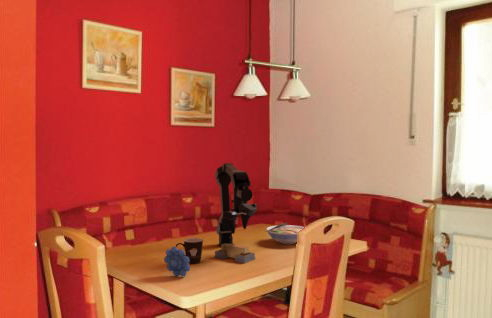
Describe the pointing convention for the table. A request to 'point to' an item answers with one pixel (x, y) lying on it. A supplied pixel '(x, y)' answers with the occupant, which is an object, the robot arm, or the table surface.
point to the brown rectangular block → (234, 250)
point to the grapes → (177, 261)
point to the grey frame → (238, 257)
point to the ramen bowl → (284, 233)
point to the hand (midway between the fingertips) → (238, 230)
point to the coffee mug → (193, 249)
